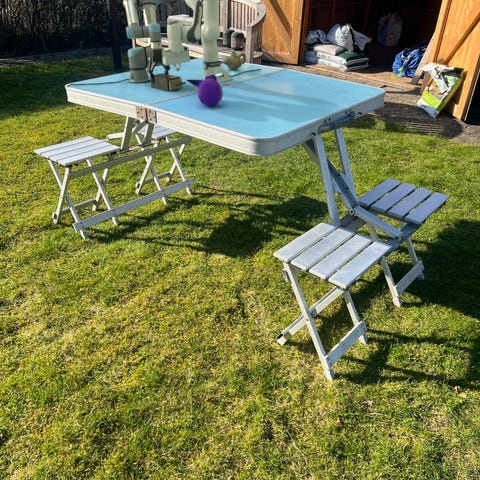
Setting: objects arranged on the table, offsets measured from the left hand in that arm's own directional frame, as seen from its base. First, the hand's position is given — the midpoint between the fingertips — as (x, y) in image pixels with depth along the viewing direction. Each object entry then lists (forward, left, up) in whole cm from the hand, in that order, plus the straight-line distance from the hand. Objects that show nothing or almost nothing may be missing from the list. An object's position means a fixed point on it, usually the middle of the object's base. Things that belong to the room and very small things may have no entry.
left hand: (160, 81), depth 319 cm
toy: (+19, -62, -3) cm, 65 cm away
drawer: (+6, -11, -2) cm, 13 cm away
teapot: (+68, +42, -3) cm, 80 cm away
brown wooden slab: (+3, -6, -3) cm, 8 cm away
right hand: (+10, -19, +10) cm, 24 cm away
